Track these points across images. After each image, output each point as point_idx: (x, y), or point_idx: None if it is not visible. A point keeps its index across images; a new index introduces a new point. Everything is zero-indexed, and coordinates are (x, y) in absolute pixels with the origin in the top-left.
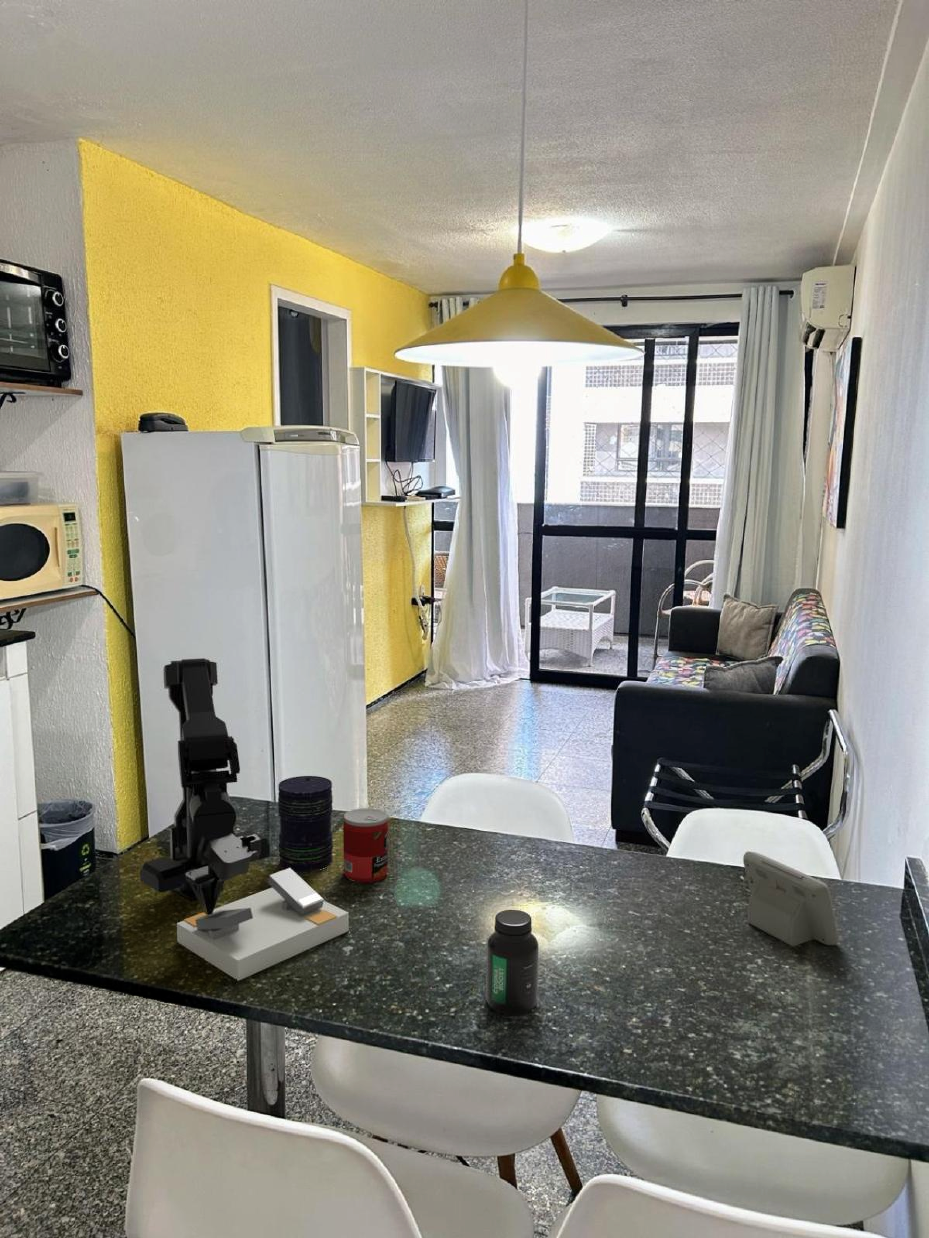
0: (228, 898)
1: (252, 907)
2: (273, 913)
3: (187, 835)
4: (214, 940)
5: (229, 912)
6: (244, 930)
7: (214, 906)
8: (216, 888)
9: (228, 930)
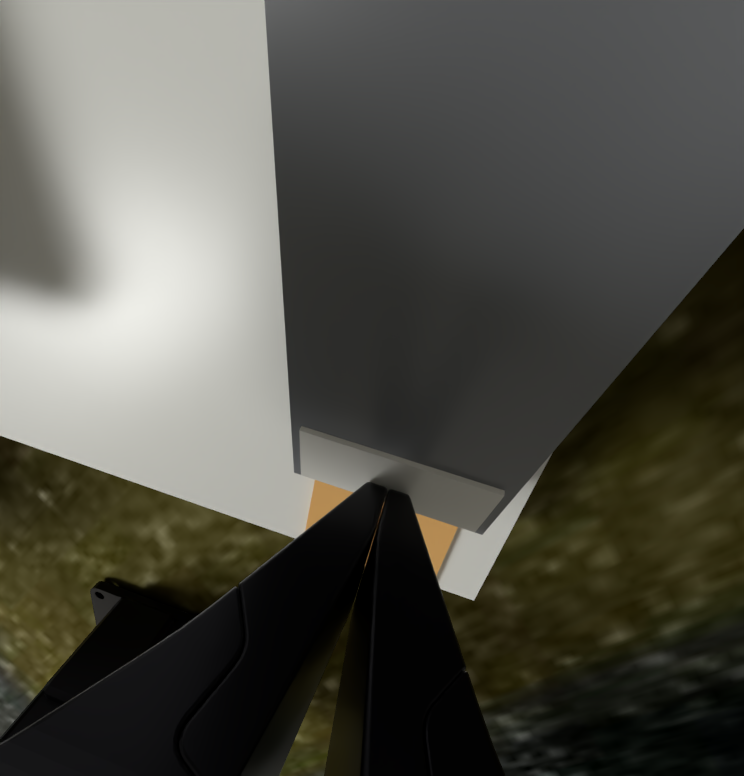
0: (123, 536)
1: (99, 358)
2: (33, 169)
3: None
4: None
5: (421, 243)
6: None
7: (345, 506)
8: (259, 686)
9: None
